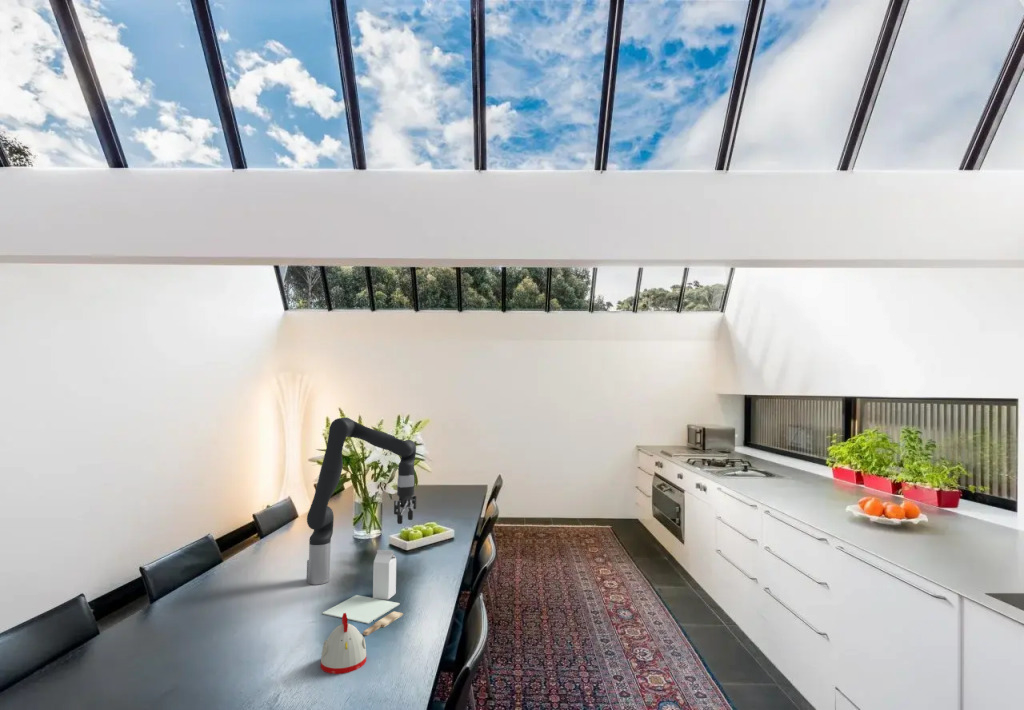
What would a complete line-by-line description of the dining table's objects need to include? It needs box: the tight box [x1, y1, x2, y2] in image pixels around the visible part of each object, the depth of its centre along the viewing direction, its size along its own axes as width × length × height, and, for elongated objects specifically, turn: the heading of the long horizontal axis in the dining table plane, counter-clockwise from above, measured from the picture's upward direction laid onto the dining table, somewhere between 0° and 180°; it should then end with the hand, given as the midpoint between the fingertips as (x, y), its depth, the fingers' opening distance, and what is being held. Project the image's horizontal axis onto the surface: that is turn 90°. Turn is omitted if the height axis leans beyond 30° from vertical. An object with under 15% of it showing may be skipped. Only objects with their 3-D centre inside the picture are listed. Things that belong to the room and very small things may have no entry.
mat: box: [321, 594, 401, 625], centre depth 211 cm, size 22×20×1 cm
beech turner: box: [362, 611, 404, 636], centre depth 198 cm, size 20×4×1 cm, turn 157°
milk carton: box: [372, 549, 397, 601], centre depth 225 cm, size 7×7×19 cm
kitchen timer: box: [320, 613, 367, 675], centre depth 170 cm, size 14×14×15 cm
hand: (405, 521), depth 240 cm, fingers open, 7 cm apart
